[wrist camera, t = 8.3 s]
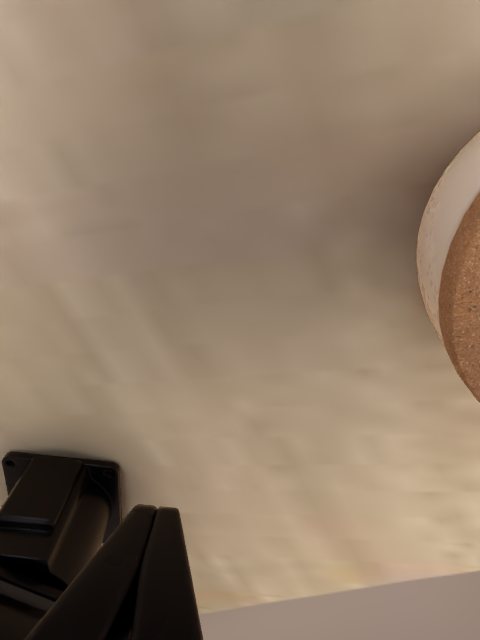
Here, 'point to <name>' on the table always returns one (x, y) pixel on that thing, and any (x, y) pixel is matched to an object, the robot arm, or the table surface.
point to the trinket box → (454, 262)
